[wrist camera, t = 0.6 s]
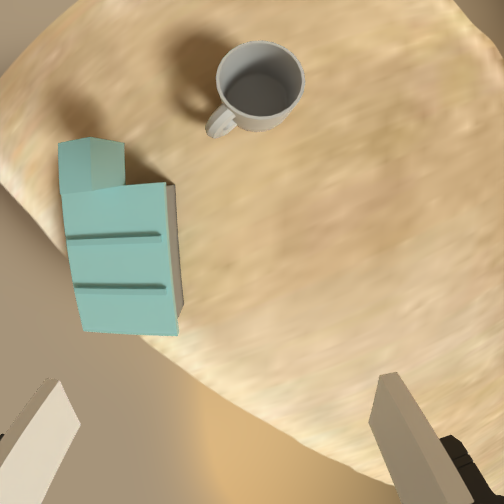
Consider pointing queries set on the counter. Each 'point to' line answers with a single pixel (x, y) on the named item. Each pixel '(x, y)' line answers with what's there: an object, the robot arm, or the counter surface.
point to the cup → (256, 88)
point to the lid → (116, 242)
